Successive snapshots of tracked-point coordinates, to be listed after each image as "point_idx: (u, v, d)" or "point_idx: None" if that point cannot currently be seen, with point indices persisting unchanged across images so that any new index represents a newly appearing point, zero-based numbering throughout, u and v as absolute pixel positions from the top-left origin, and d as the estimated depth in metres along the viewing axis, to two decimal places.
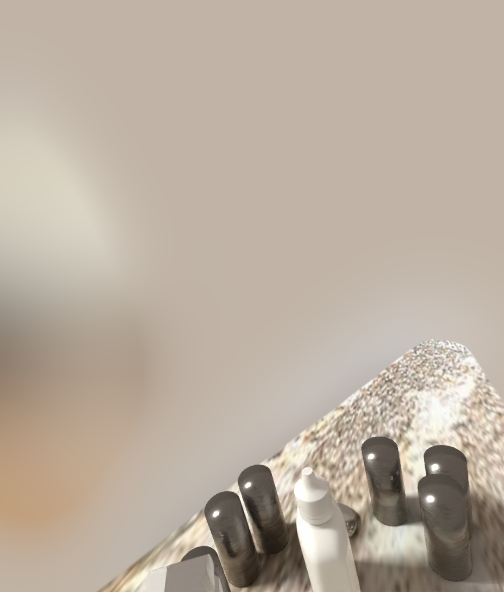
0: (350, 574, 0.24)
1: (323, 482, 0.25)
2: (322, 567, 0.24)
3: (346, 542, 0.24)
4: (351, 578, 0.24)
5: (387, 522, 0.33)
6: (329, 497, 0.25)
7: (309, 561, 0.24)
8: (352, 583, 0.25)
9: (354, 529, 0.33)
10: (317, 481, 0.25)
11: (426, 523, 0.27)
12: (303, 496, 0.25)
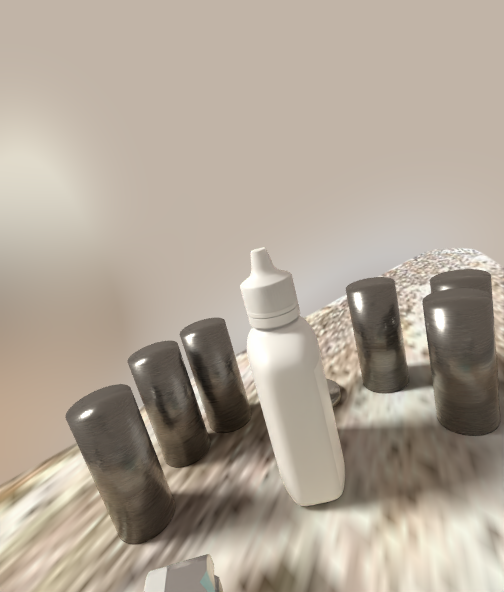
0: (322, 400, 0.16)
1: (283, 271, 0.17)
2: (277, 379, 0.15)
3: (316, 352, 0.16)
4: (324, 406, 0.16)
5: (380, 388, 0.24)
6: (291, 288, 0.17)
7: (259, 377, 0.16)
8: (326, 416, 0.16)
9: (337, 399, 0.25)
10: (273, 266, 0.17)
11: (435, 351, 0.19)
12: (251, 284, 0.16)
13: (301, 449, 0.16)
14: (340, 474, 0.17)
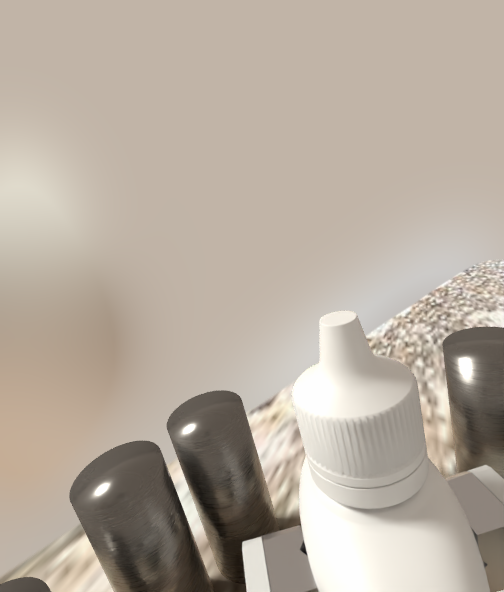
0: None
1: (392, 364, 0.07)
2: None
3: (485, 573, 0.07)
4: None
5: None
6: (418, 410, 0.07)
7: None
8: None
9: None
10: (373, 356, 0.07)
11: None
12: (325, 404, 0.07)
13: None
14: None
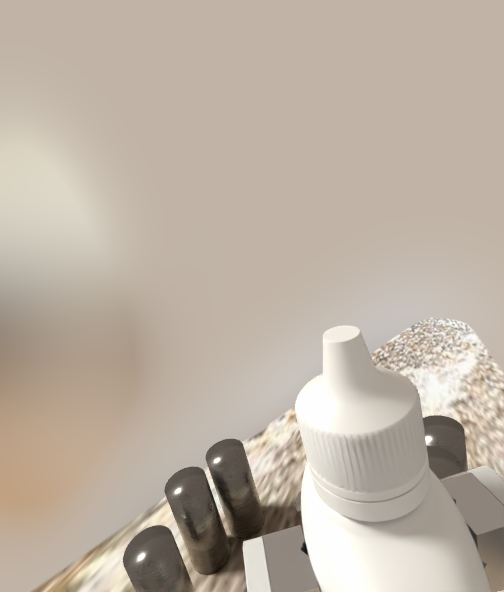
0: None
1: (394, 377, 0.07)
2: None
3: (487, 580, 0.07)
4: None
5: None
6: (421, 423, 0.07)
7: None
8: None
9: None
10: (376, 370, 0.07)
11: None
12: (331, 420, 0.07)
13: None
14: None
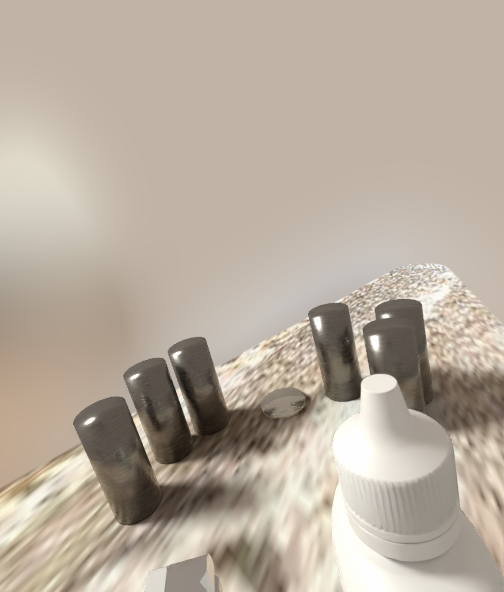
0: None
1: (426, 422, 0.08)
2: None
3: None
4: None
5: (338, 397, 0.29)
6: None
7: None
8: None
9: (301, 407, 0.29)
10: (411, 417, 0.08)
11: (372, 369, 0.23)
12: (371, 466, 0.07)
13: None
14: None
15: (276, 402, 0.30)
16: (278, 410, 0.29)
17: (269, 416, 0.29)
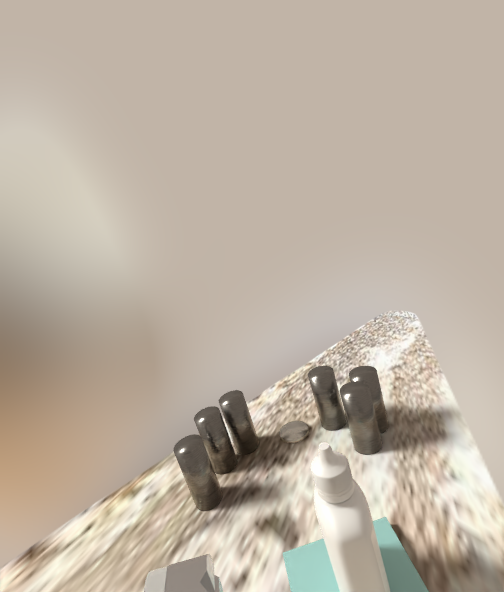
0: (376, 554, 0.23)
1: (341, 457, 0.24)
2: (346, 547, 0.22)
3: (370, 520, 0.23)
4: (377, 558, 0.23)
5: (329, 427, 0.44)
6: (349, 472, 0.23)
7: (332, 542, 0.22)
8: (379, 564, 0.23)
9: (306, 434, 0.45)
10: (335, 456, 0.23)
11: (346, 414, 0.39)
12: (321, 472, 0.23)
13: (362, 590, 0.23)
14: None
15: (289, 431, 0.46)
16: (290, 437, 0.45)
17: (285, 441, 0.45)
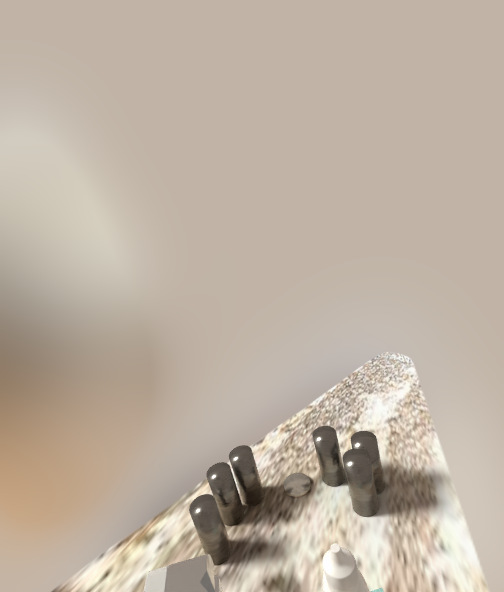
0: None
1: (349, 556, 0.27)
2: None
3: None
4: None
5: (330, 483, 0.48)
6: (356, 571, 0.27)
7: None
8: None
9: (308, 489, 0.48)
10: (344, 556, 0.27)
11: (347, 479, 0.43)
12: (332, 572, 0.27)
13: None
14: None
15: (292, 484, 0.49)
16: (294, 491, 0.48)
17: (289, 494, 0.48)
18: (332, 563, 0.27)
